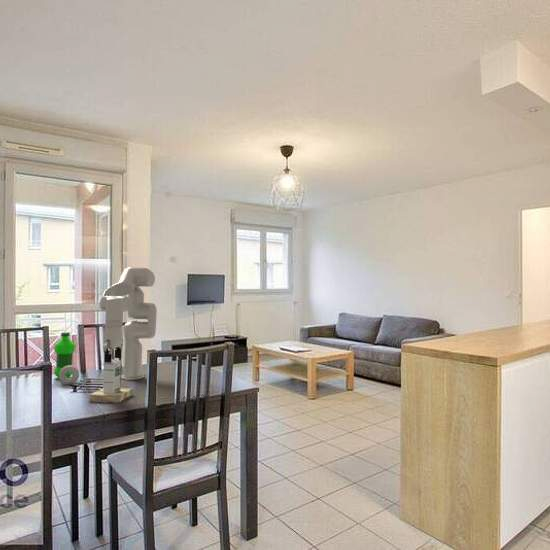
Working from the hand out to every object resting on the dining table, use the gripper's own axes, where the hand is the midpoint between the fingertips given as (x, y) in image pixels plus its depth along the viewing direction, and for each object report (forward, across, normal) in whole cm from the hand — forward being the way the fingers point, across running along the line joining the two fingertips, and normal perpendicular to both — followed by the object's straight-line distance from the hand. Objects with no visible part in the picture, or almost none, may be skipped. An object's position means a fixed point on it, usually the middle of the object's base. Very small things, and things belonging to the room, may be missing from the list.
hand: (113, 360), depth 197 cm
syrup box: (+15, +1, 0) cm, 15 cm away
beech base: (+18, +1, 0) cm, 18 cm away
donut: (+18, -18, -33) cm, 42 cm away
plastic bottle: (+19, -31, -44) cm, 57 cm away
